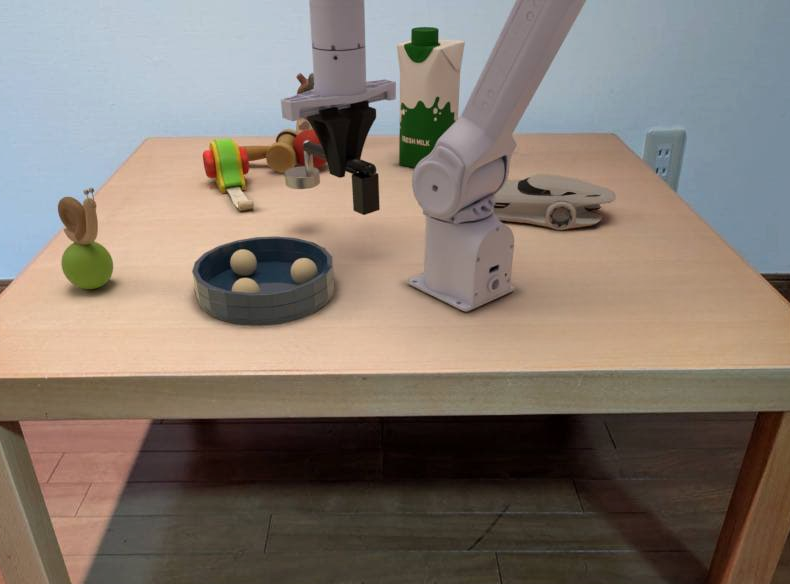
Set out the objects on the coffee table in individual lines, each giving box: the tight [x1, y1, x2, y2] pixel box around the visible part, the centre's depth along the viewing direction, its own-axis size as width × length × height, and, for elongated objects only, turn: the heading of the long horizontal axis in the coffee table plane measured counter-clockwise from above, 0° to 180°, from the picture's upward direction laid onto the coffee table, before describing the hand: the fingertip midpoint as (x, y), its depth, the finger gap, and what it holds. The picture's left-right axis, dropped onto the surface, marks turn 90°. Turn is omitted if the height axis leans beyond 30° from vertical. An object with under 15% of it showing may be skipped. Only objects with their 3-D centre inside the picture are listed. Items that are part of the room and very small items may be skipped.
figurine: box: [295, 72, 314, 134], centre depth 125 cm, size 7×7×12 cm
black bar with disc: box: [284, 140, 381, 216], centre depth 88 cm, size 17×4×6 cm, turn 40°
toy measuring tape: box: [202, 137, 255, 212], centre depth 108 cm, size 6×19×7 cm, turn 20°
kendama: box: [238, 128, 327, 174], centre depth 117 cm, size 8×6×18 cm
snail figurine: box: [57, 187, 114, 290], centre depth 80 cm, size 5×6×12 cm
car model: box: [494, 173, 617, 231], centre depth 100 cm, size 11×24×5 cm, turn 78°
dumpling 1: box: [230, 249, 257, 276], centre depth 84 cm, size 3×3×3 cm
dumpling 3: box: [291, 258, 318, 285], centre depth 82 cm, size 3×3×3 cm
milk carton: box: [396, 26, 466, 169], centre depth 114 cm, size 9×9×20 cm
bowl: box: [191, 235, 335, 326], centre depth 81 cm, size 15×15×4 cm
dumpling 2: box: [232, 278, 260, 293], centre depth 78 cm, size 3×3×3 cm
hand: (343, 173), depth 86 cm, fingers closed on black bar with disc
